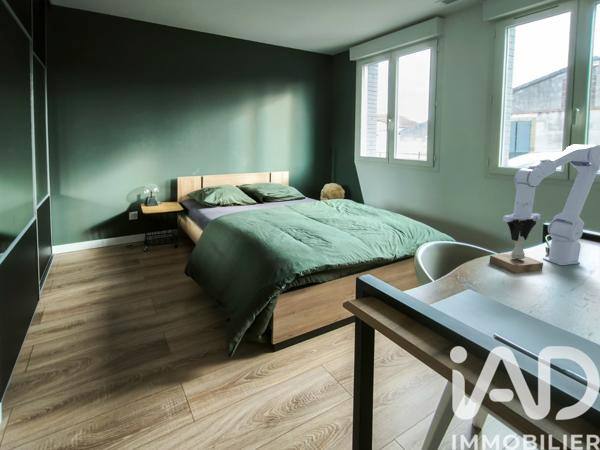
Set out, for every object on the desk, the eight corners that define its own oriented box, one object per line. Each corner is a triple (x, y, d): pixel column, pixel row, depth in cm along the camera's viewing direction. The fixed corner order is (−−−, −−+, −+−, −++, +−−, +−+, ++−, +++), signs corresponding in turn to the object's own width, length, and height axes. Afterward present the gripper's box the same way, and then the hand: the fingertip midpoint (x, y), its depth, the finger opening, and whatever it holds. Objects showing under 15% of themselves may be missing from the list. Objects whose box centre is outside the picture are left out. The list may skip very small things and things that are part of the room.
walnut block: (515, 260, 143) (516, 252, 142) (542, 270, 131) (543, 262, 131) (489, 262, 140) (490, 255, 139) (514, 274, 128) (515, 266, 128)
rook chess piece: (526, 259, 131) (528, 237, 130) (512, 258, 133) (514, 237, 131) (523, 256, 135) (525, 235, 134) (509, 255, 137) (511, 234, 135)
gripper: (516, 206, 124) (511, 244, 128) (550, 203, 128) (544, 241, 131) (500, 202, 131) (495, 239, 134) (533, 200, 135) (527, 236, 138)
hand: (518, 239), depth 133 cm, fingers closed on rook chess piece, 3 cm apart
